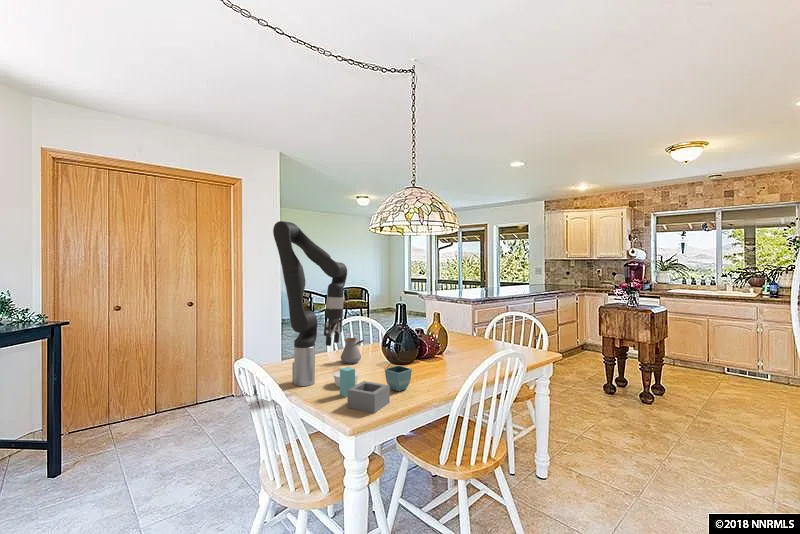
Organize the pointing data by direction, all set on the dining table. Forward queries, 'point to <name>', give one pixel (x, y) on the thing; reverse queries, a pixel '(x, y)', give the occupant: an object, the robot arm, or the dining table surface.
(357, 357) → the coffee pot
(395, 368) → the flower pot
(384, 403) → the box
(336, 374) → the ramekin
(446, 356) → the dining table surface
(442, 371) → the dining table surface
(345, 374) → the teal post
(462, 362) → the dining table surface
